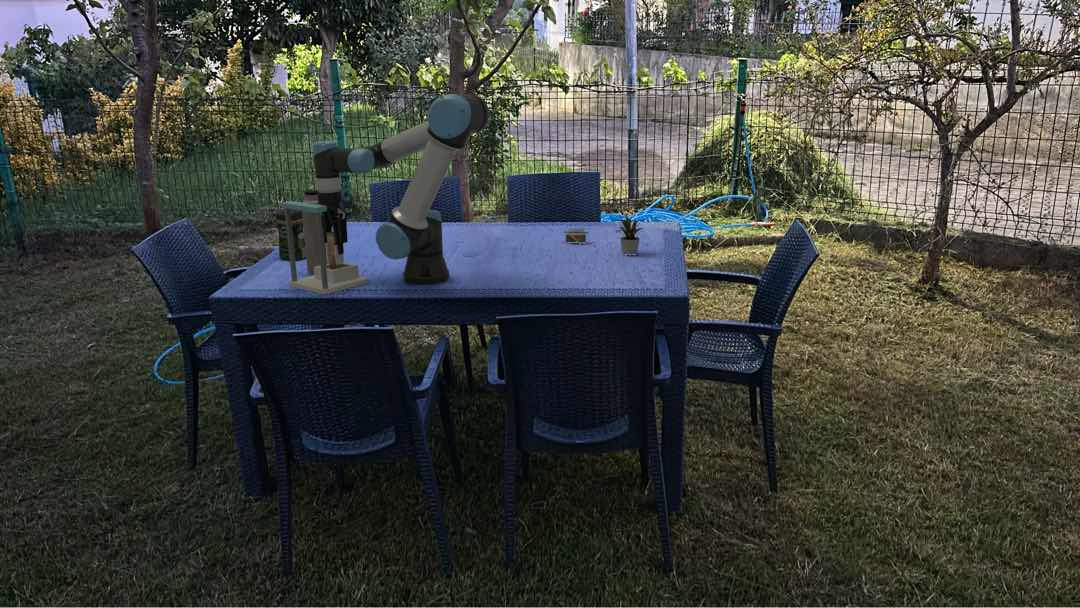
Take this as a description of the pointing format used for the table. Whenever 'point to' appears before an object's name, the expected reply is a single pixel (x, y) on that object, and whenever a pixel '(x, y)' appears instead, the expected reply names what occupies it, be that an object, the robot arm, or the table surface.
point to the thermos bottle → (311, 233)
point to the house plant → (629, 235)
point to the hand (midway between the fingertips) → (335, 262)
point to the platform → (576, 235)
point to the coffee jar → (297, 234)
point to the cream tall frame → (323, 275)
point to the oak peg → (332, 251)
